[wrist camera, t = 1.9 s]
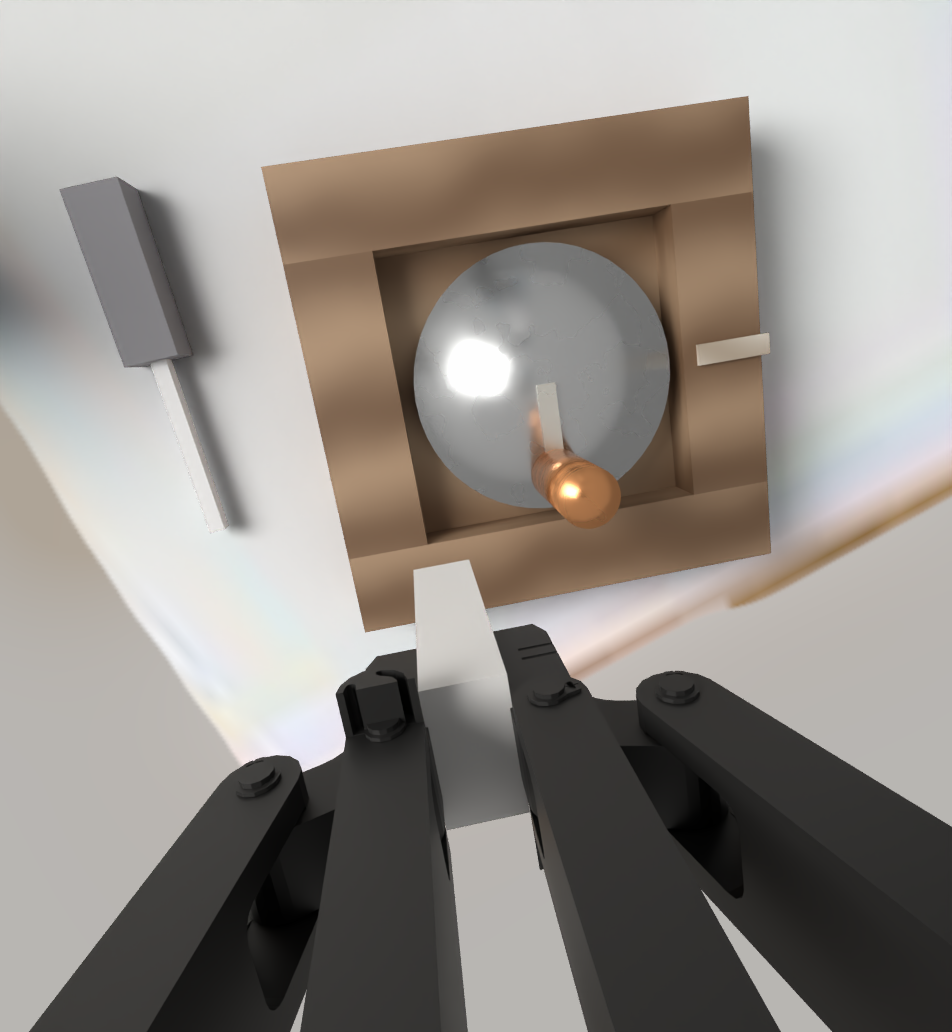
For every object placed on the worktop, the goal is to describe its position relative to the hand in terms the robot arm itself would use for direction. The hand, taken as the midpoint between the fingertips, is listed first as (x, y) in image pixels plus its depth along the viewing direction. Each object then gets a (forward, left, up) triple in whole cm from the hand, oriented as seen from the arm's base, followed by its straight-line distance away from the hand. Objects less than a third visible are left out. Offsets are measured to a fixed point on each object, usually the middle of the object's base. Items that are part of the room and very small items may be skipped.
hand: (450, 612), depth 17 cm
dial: (-5, +7, -17) cm, 19 cm away
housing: (-5, +7, -19) cm, 21 cm away
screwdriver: (-8, -12, -20) cm, 24 cm away
